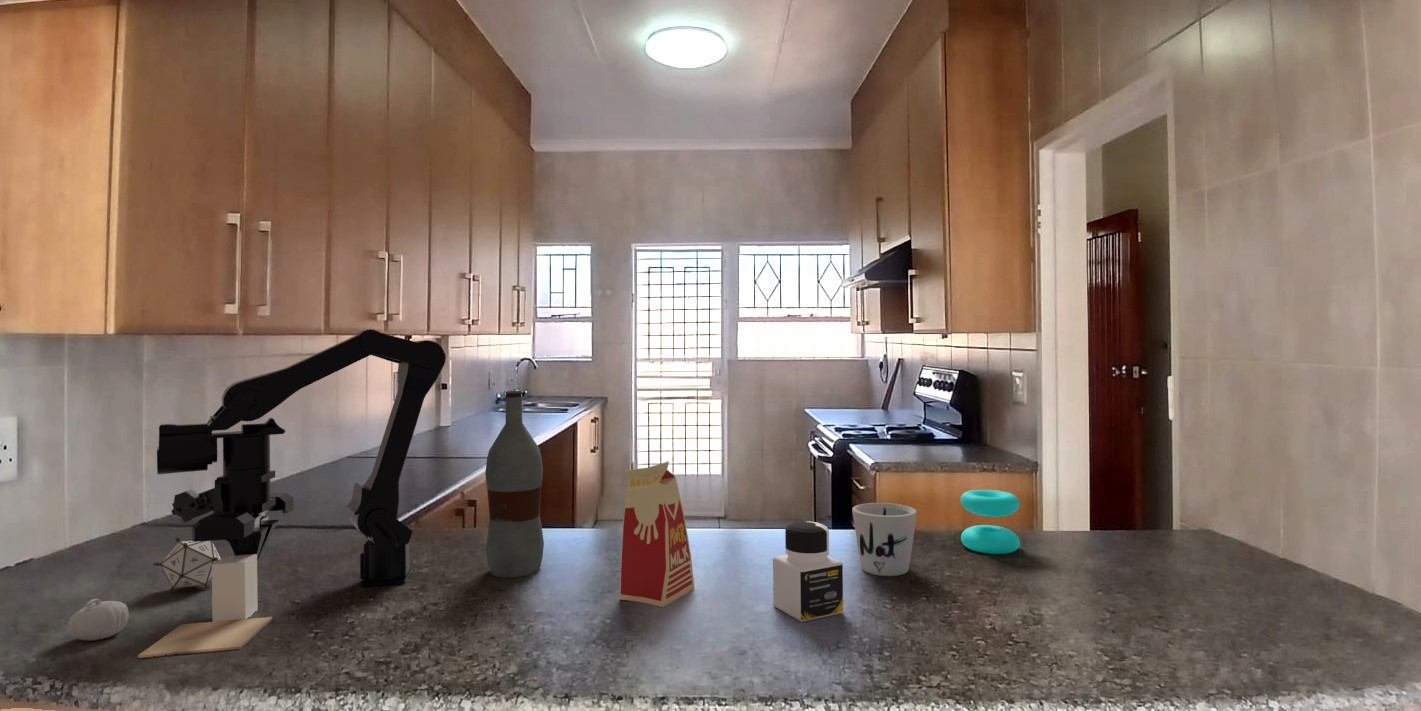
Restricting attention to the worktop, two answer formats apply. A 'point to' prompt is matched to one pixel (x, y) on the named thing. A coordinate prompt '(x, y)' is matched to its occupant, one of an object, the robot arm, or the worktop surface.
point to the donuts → (988, 535)
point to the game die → (190, 563)
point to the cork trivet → (207, 637)
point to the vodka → (514, 497)
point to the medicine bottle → (807, 574)
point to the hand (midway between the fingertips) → (247, 574)
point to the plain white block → (234, 587)
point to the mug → (884, 537)
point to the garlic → (98, 620)
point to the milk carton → (654, 539)
